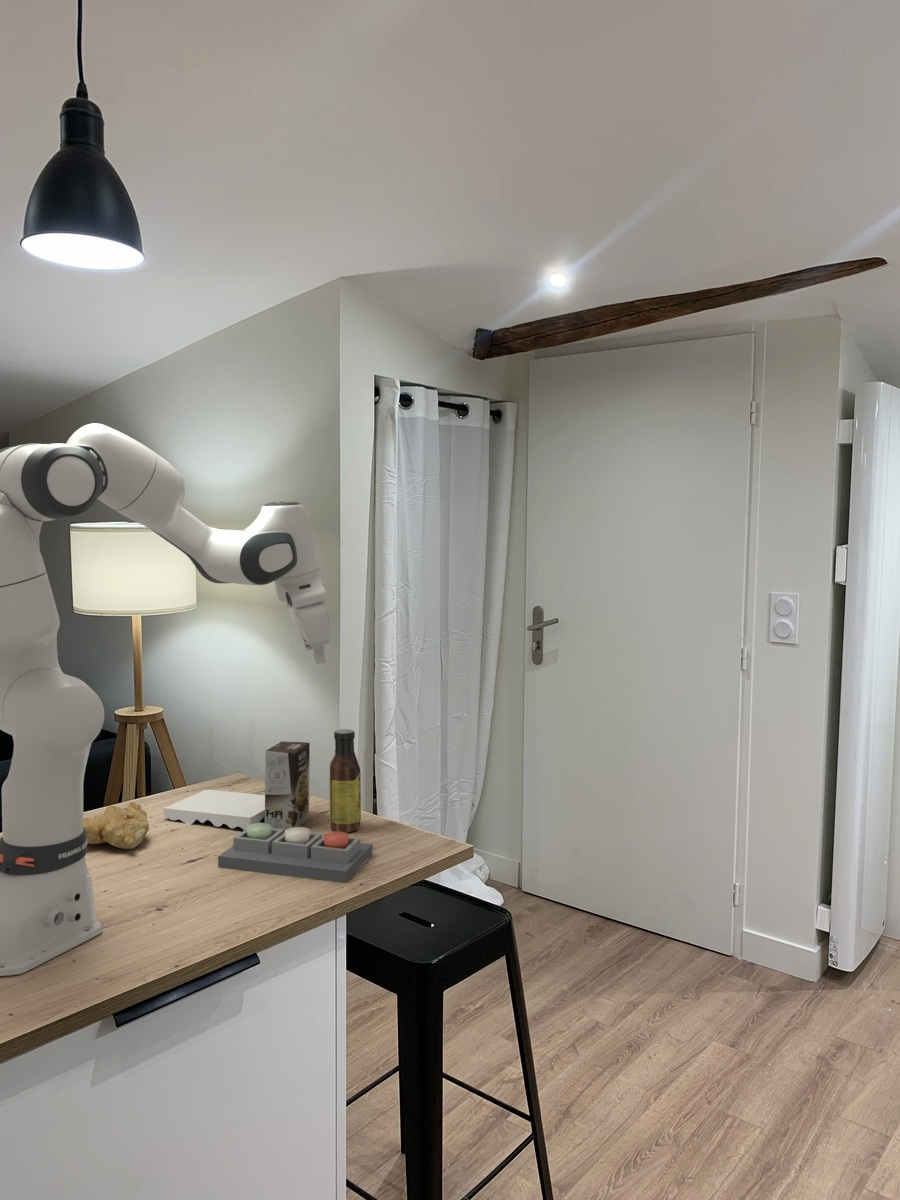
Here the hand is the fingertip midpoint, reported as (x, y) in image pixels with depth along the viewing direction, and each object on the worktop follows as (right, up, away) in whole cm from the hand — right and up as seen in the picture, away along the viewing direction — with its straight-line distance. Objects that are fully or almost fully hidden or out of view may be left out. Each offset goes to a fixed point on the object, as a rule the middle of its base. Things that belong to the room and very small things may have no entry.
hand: (315, 655), depth 174 cm
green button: (-9, -33, -6) cm, 35 cm away
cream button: (-2, -34, -8) cm, 35 cm away
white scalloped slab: (-21, -35, +17) cm, 44 cm away
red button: (+5, -34, -10) cm, 36 cm away
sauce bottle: (+4, -36, +10) cm, 37 cm away
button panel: (-2, -37, -7) cm, 38 cm away
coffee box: (-7, -35, +12) cm, 38 cm away
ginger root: (-38, -36, -1) cm, 52 cm away
